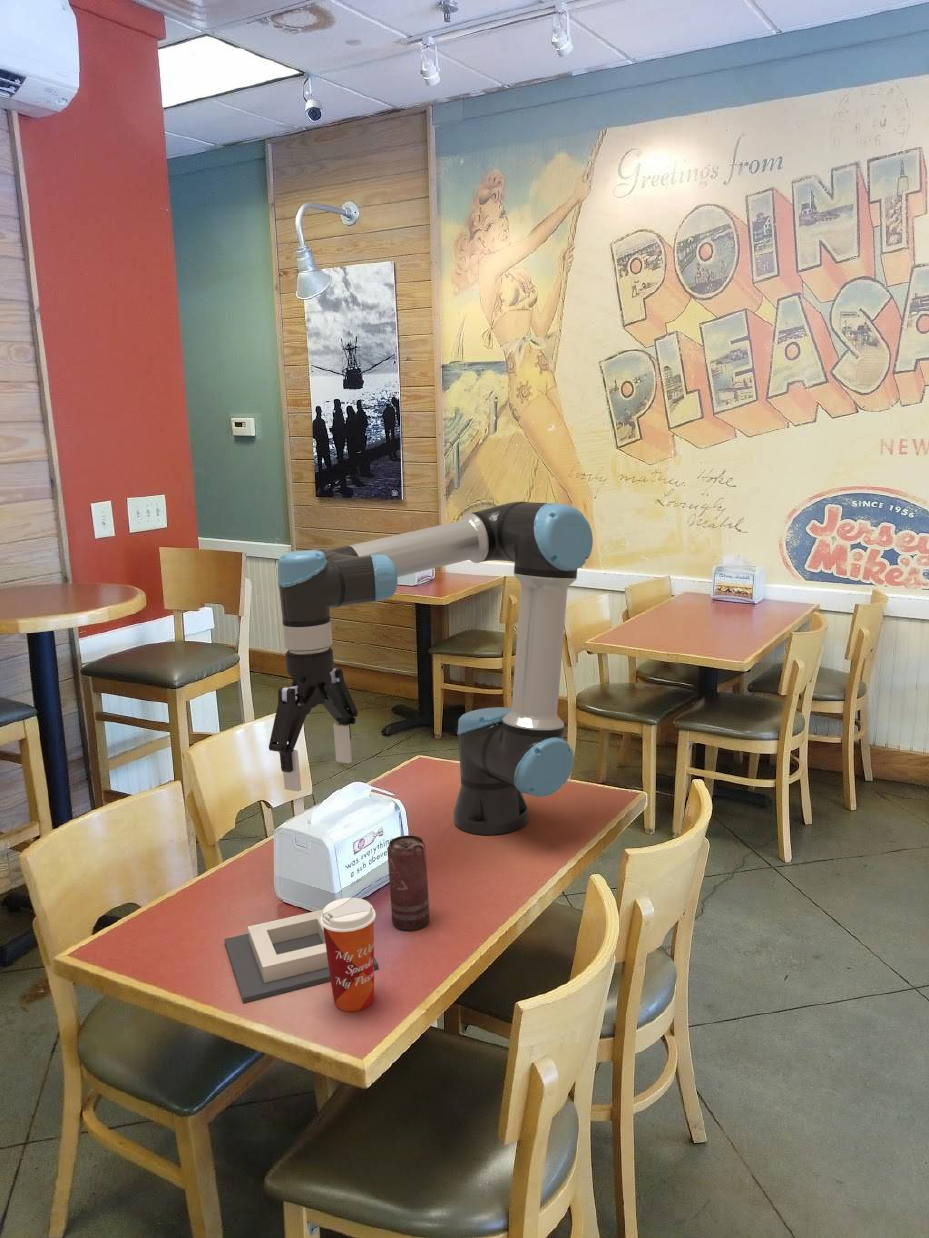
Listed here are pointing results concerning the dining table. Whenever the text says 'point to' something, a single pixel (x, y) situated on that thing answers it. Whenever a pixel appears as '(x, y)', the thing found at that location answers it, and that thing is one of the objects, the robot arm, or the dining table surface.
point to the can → (408, 882)
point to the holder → (291, 961)
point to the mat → (252, 978)
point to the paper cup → (350, 952)
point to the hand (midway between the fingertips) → (319, 775)
